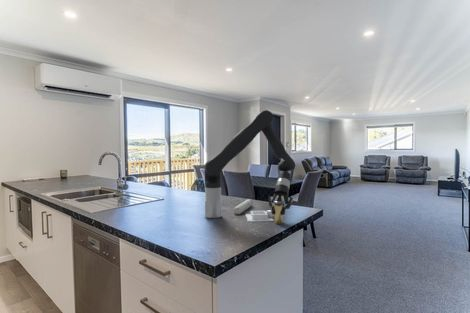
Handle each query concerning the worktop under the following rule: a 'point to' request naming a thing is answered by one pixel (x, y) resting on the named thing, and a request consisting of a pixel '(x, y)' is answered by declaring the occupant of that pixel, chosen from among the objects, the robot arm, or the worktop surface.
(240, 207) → the tube
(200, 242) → the worktop surface
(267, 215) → the socket
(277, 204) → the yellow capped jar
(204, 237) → the worktop surface
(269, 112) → the robot arm
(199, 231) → the worktop surface
